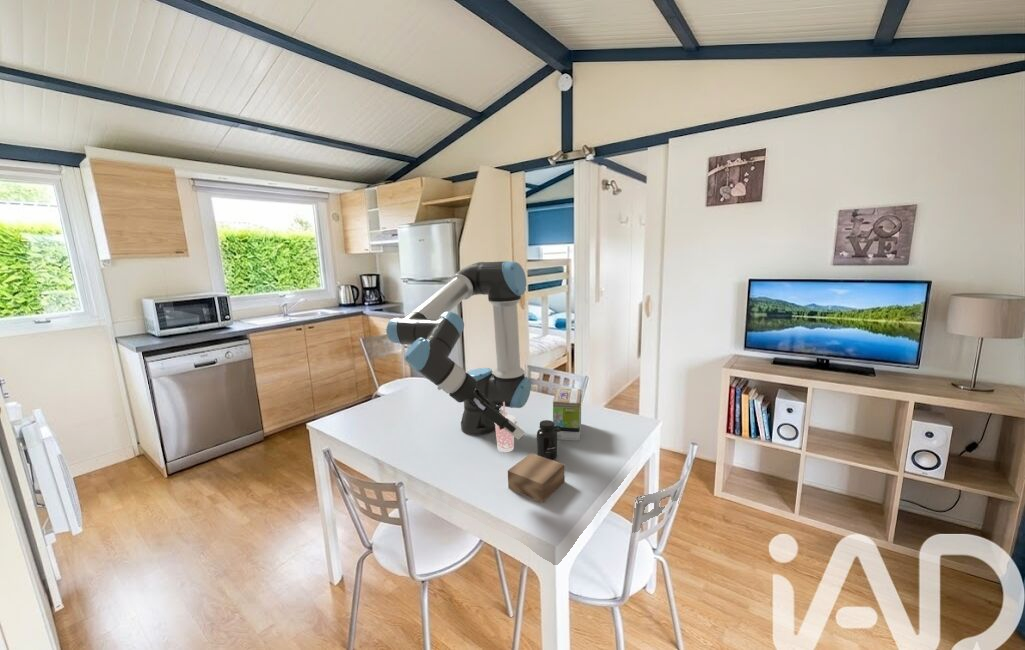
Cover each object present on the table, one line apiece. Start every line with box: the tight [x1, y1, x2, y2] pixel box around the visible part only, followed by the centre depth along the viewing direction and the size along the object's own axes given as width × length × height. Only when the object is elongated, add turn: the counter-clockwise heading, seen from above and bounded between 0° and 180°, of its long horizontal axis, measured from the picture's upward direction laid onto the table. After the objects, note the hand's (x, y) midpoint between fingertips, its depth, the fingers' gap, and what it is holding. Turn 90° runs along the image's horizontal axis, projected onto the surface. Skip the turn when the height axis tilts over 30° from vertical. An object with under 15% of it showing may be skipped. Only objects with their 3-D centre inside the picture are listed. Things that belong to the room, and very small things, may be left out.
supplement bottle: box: [536, 419, 558, 461], centre depth 131 cm, size 7×7×12 cm
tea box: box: [552, 387, 582, 442], centre depth 148 cm, size 15×10×15 cm, turn 168°
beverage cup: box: [494, 402, 516, 453], centre depth 111 cm, size 6×6×14 cm
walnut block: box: [507, 452, 566, 504], centre depth 116 cm, size 12×12×6 cm
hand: (517, 430), depth 112 cm, fingers closed on beverage cup, 6 cm apart
